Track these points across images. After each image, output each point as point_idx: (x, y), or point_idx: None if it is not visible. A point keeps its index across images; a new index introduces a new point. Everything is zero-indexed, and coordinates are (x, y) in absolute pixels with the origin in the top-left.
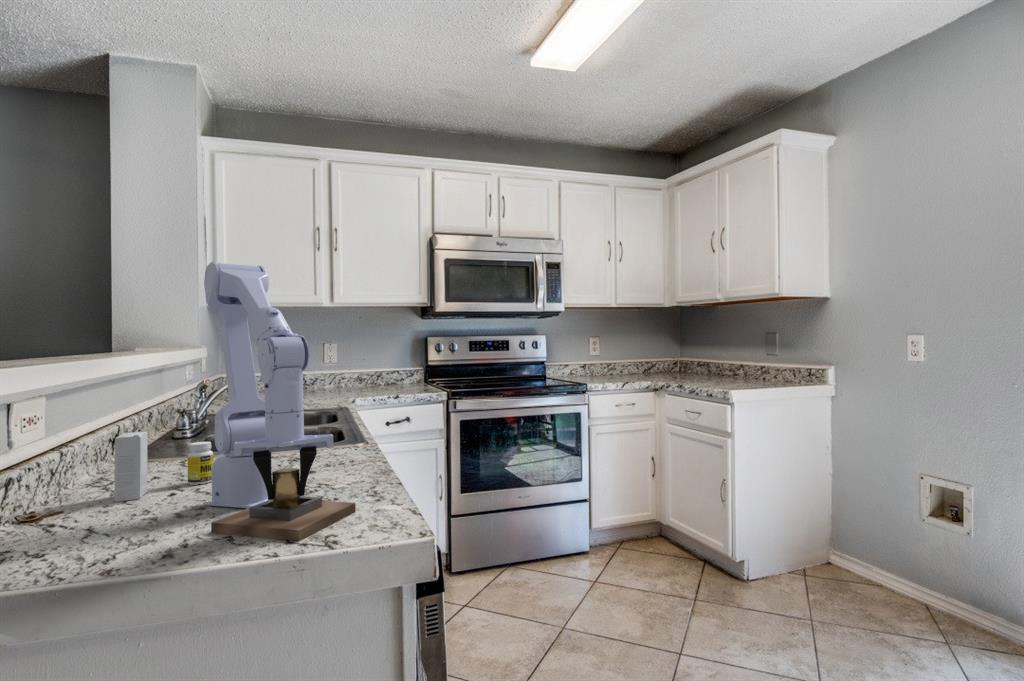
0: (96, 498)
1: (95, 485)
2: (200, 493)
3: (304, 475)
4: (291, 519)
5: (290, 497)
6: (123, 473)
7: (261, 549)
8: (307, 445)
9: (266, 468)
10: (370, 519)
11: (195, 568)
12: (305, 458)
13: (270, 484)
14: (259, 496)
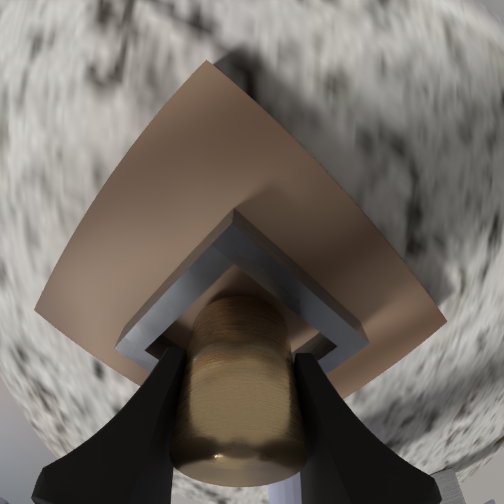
0: (455, 474)
1: None
2: None
3: (140, 410)
4: (228, 215)
5: (223, 334)
6: (455, 498)
7: (342, 51)
8: None
9: (359, 463)
10: (4, 202)
11: (486, 32)
12: (97, 484)
13: (317, 398)
14: None
